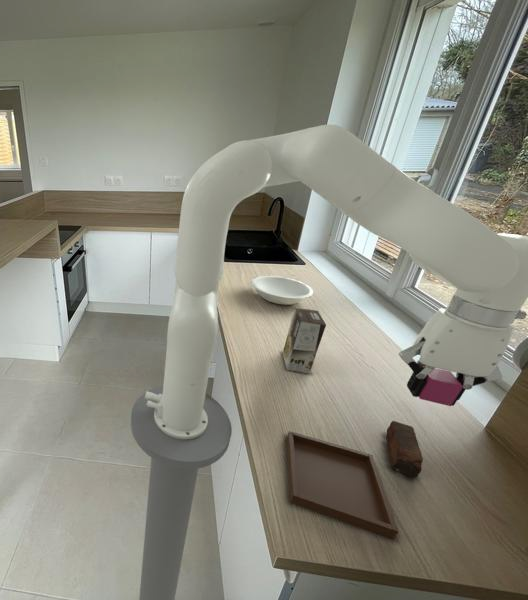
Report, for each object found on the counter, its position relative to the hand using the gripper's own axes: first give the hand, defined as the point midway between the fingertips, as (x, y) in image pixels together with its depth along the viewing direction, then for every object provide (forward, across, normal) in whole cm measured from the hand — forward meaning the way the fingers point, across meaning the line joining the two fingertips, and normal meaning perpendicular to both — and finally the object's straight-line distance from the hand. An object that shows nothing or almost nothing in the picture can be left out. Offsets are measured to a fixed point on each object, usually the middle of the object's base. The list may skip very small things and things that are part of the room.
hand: (429, 395), depth 60 cm
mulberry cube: (0, 0, 0) cm, 0 cm away
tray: (+17, +13, +12) cm, 24 cm away
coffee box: (+17, +17, -27) cm, 36 cm away
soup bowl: (+17, +21, -73) cm, 78 cm away
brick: (+17, -1, 0) cm, 17 cm away
